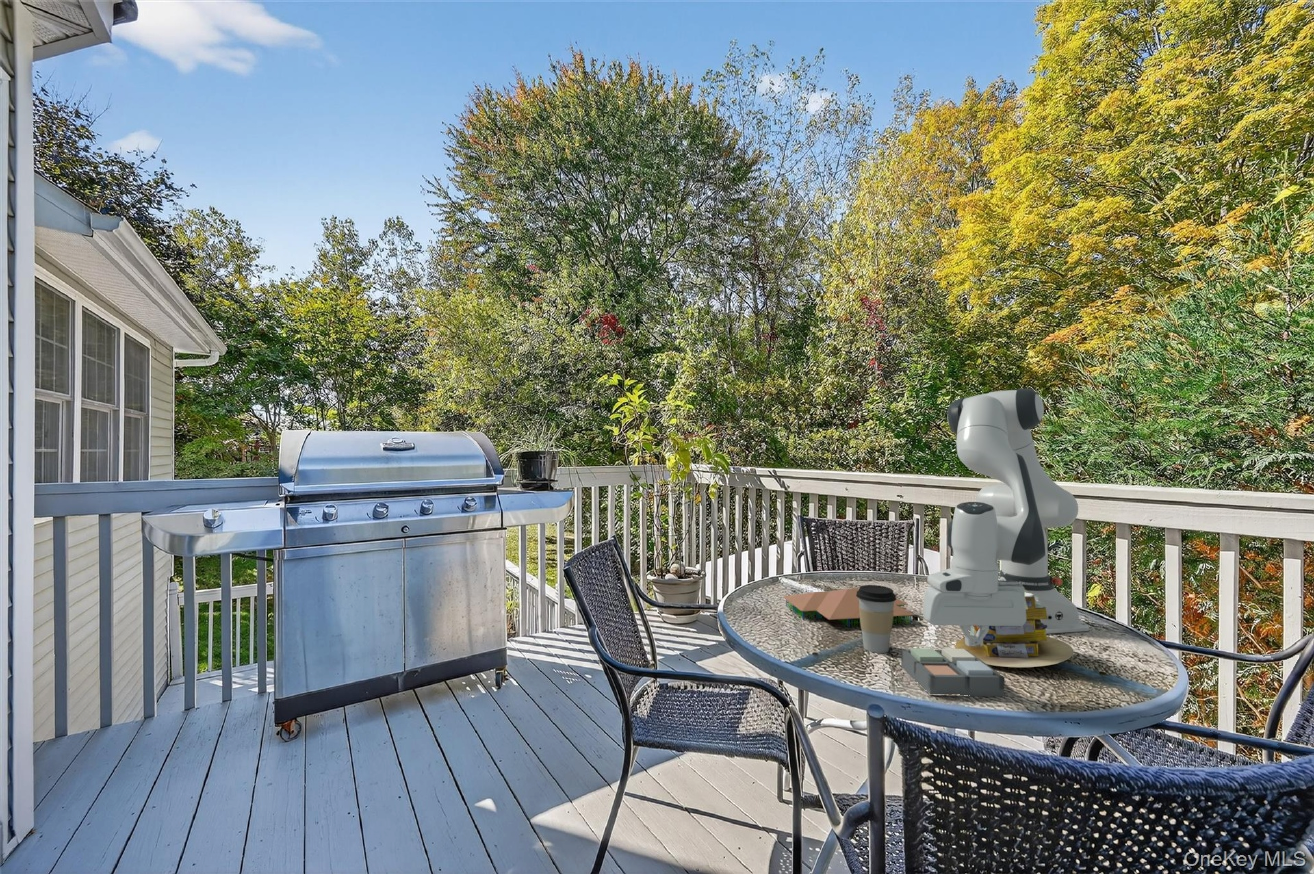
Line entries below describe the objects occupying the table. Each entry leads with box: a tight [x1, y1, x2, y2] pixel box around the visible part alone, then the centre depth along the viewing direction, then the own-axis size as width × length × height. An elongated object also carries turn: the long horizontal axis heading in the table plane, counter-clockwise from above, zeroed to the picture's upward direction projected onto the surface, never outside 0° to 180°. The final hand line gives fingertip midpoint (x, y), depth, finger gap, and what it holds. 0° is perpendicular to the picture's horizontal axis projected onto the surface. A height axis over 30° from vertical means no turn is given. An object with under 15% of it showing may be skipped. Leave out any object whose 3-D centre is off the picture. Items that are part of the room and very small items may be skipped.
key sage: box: [910, 647, 943, 662], centre depth 131 cm, size 5×5×2 cm
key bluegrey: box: [957, 661, 993, 675], centre depth 124 cm, size 5×5×2 cm
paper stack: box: [954, 585, 1075, 668], centre depth 142 cm, size 25×25×17 cm
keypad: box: [900, 648, 1005, 697], centre depth 127 cm, size 15×15×4 cm
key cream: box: [941, 648, 975, 662], centre depth 131 cm, size 5×5×2 cm
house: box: [782, 587, 916, 628], centre depth 173 cm, size 23×33×8 cm
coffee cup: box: [856, 584, 897, 654], centre depth 146 cm, size 9×9×15 cm
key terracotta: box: [924, 665, 958, 675], centre depth 124 cm, size 5×5×2 cm
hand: (973, 645), depth 123 cm, fingers closed
